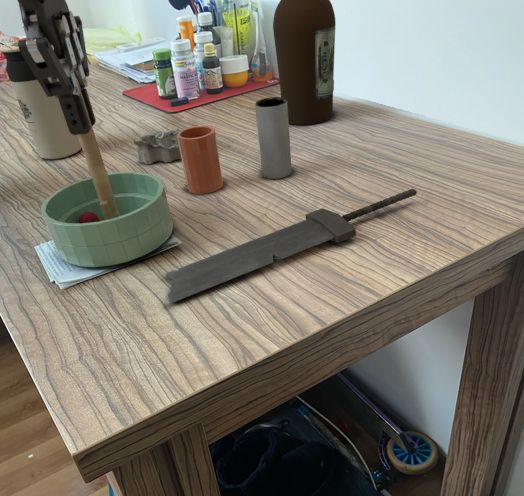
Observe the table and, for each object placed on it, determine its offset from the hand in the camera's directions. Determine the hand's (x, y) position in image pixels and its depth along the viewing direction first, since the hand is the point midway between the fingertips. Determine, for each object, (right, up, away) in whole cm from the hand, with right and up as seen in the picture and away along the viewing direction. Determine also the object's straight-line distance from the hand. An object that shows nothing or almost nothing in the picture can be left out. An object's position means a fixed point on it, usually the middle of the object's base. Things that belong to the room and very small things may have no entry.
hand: (83, 129), depth 56 cm
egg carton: (+4, +10, +33) cm, 35 cm away
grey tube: (+22, +3, +22) cm, 31 cm away
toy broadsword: (+24, -12, +6) cm, 27 cm away
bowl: (0, -10, +11) cm, 15 cm away
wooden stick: (+1, -10, +9) cm, 13 cm away
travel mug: (-18, +13, +40) cm, 46 cm away
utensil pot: (+11, +1, +21) cm, 24 cm away
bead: (-3, -7, +12) cm, 14 cm away
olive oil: (+28, +20, +41) cm, 53 cm away
